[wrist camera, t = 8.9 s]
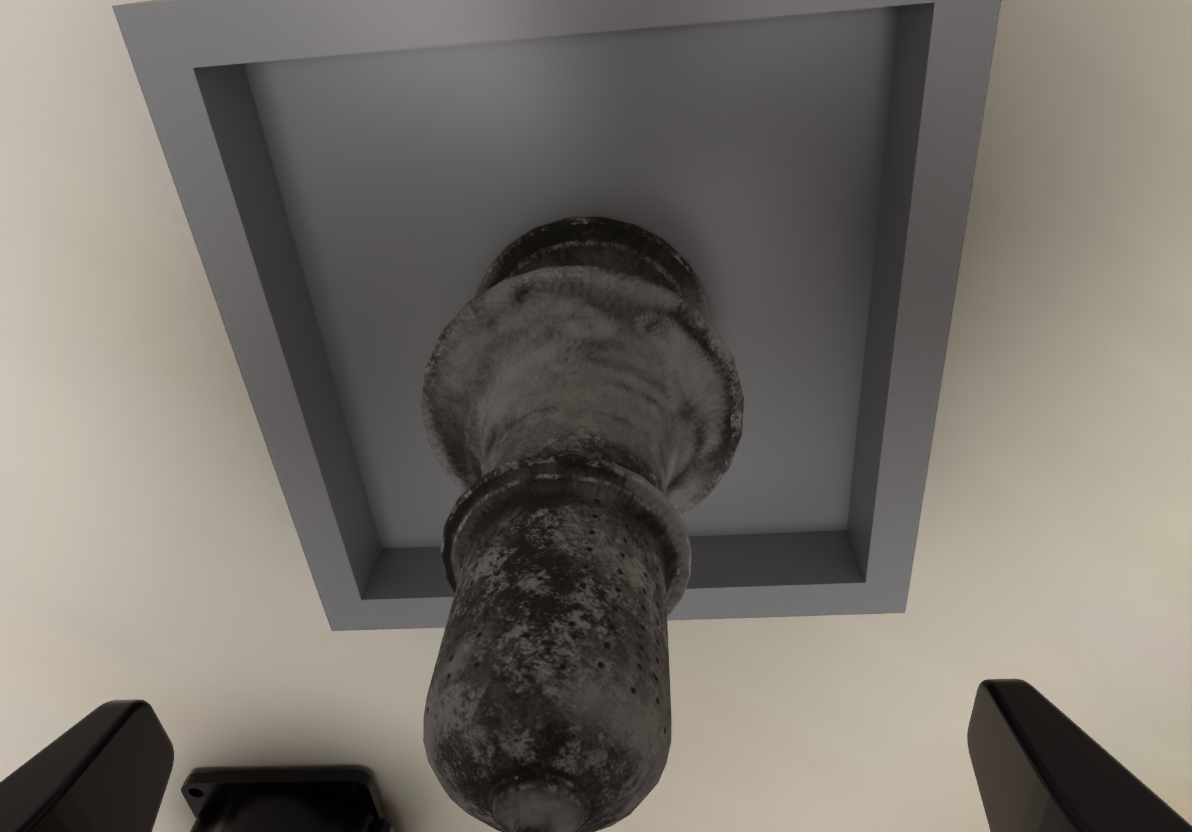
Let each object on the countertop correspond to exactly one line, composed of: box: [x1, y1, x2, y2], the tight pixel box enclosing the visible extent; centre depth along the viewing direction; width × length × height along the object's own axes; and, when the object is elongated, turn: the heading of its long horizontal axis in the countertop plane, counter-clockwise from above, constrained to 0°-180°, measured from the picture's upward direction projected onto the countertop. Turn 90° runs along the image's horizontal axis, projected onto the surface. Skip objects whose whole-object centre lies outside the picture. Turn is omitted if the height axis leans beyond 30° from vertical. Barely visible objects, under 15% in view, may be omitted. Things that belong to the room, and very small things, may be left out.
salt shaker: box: [421, 217, 744, 832], centre depth 12 cm, size 6×6×12 cm
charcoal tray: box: [112, 0, 1001, 631], centre depth 17 cm, size 14×14×2 cm
